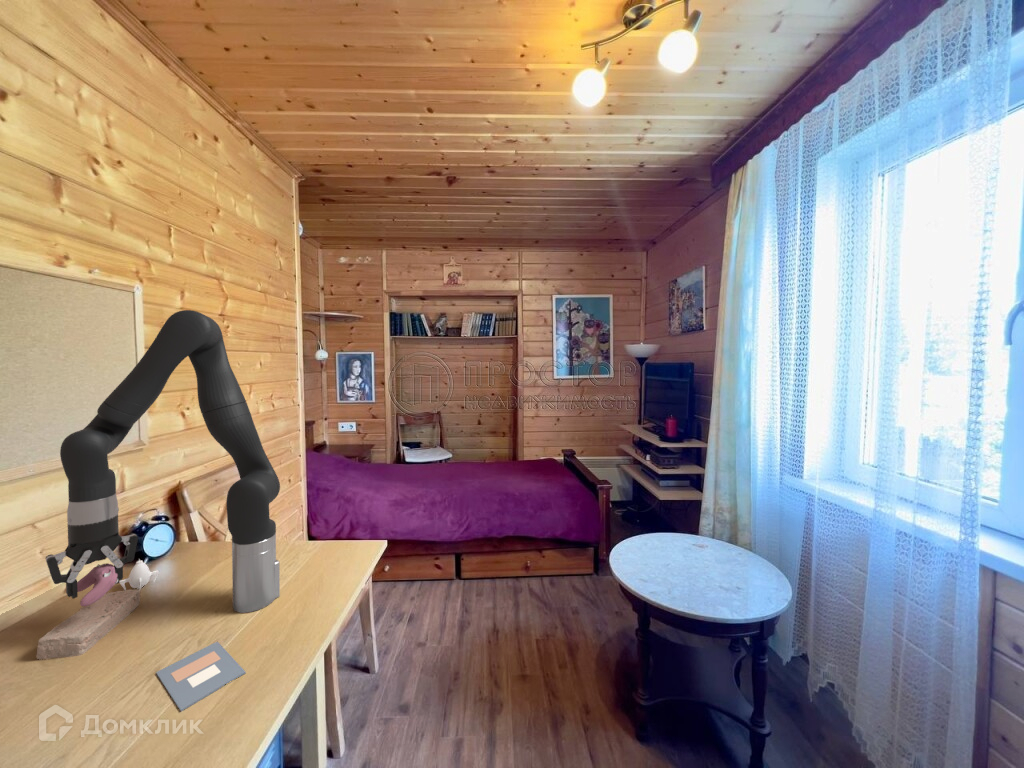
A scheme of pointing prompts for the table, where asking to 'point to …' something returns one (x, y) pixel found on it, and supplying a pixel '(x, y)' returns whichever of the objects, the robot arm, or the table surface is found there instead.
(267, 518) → the robot arm
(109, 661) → the table surface
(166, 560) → the table surface
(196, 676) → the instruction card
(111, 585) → the video game controller
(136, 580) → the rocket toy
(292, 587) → the table surface
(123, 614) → the brick
